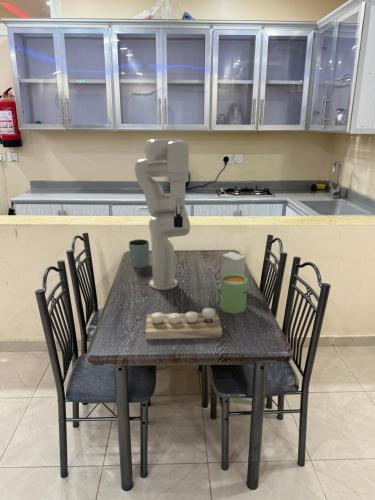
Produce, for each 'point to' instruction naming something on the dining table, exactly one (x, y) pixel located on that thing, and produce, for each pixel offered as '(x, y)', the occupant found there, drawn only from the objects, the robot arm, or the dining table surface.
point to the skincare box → (232, 264)
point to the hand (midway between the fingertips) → (178, 226)
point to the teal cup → (139, 253)
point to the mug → (233, 293)
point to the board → (183, 328)
